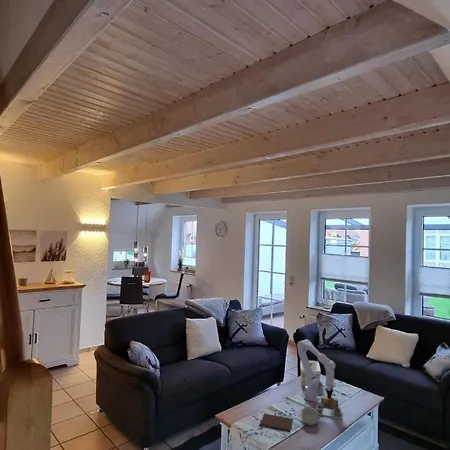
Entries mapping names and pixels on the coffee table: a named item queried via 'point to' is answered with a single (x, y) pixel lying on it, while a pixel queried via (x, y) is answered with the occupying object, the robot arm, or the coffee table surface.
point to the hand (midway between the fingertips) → (329, 396)
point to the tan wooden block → (329, 402)
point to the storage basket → (315, 370)
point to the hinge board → (329, 412)
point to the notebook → (276, 422)
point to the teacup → (309, 416)
